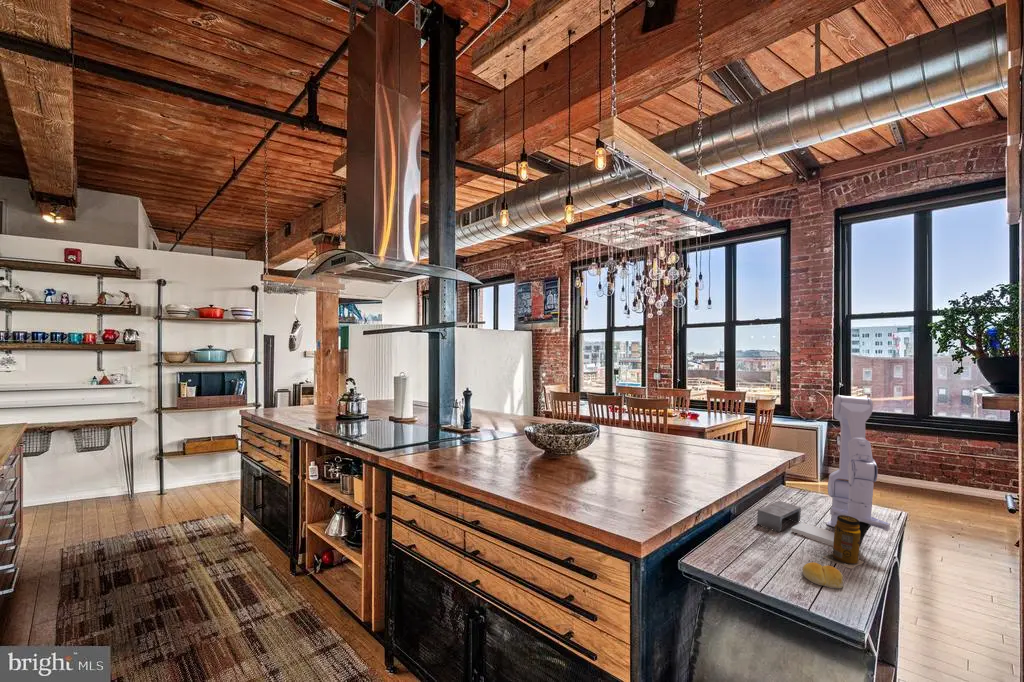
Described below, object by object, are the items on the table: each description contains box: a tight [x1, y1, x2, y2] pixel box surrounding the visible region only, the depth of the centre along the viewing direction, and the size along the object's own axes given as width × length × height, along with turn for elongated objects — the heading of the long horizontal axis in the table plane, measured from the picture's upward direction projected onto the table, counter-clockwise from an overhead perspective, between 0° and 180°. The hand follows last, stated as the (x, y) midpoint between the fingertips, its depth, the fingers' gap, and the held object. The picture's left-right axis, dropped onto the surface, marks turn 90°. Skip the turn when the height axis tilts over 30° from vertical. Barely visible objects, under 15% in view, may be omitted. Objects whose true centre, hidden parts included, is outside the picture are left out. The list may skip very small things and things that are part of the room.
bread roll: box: [801, 561, 844, 589], centre depth 124 cm, size 8×9×4 cm
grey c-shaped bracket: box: [756, 500, 802, 533], centre depth 161 cm, size 16×7×5 cm, turn 128°
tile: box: [791, 521, 834, 547], centre depth 152 cm, size 8×13×2 cm, turn 39°
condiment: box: [822, 515, 865, 570], centre depth 136 cm, size 7×8×12 cm
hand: (856, 545), depth 144 cm, fingers closed
